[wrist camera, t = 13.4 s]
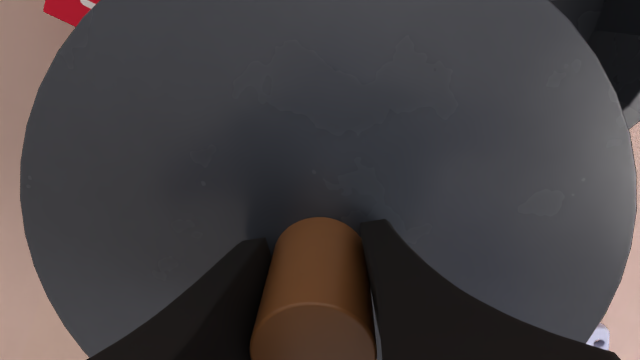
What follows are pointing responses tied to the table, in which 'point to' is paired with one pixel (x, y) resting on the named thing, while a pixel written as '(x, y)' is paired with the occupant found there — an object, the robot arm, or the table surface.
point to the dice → (69, 9)
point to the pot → (612, 44)
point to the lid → (326, 162)
